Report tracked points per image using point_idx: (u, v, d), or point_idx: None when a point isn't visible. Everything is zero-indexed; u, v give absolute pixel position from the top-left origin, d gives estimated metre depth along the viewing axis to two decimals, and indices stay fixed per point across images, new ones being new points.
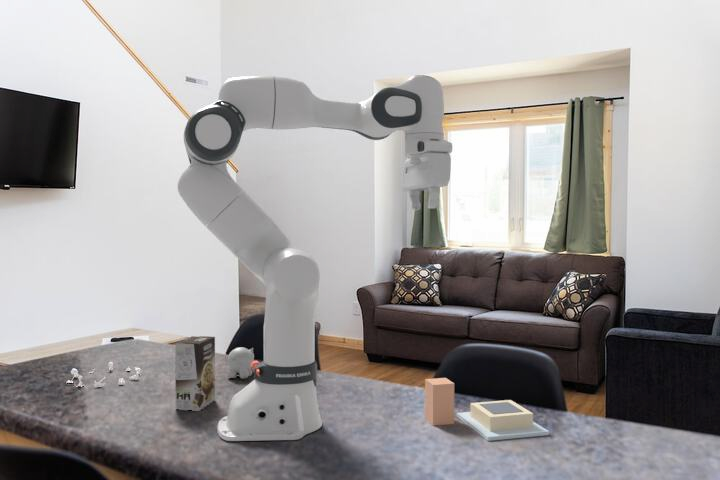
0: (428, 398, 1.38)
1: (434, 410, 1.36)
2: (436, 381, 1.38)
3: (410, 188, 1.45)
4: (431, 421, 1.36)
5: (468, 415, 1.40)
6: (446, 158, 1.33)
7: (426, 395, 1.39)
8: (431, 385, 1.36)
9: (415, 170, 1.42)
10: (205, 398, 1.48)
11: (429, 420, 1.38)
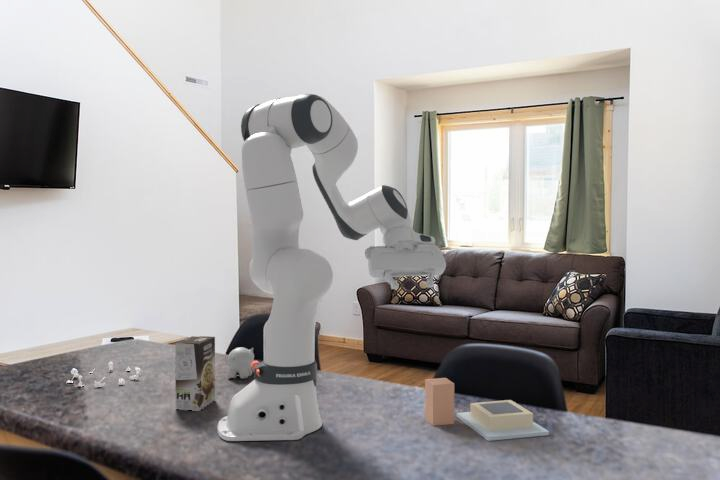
0: (428, 398, 1.38)
1: (434, 410, 1.36)
2: (436, 381, 1.38)
3: (395, 267, 1.57)
4: (431, 421, 1.36)
5: (468, 415, 1.40)
6: None
7: (426, 395, 1.39)
8: (431, 385, 1.36)
9: (401, 256, 1.60)
10: (205, 398, 1.48)
11: (429, 420, 1.38)
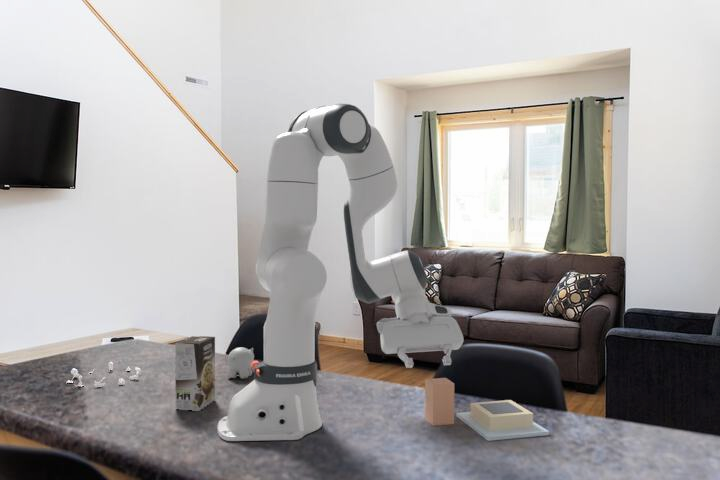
0: (428, 398, 1.38)
1: (434, 410, 1.36)
2: (436, 381, 1.38)
3: (409, 344, 1.46)
4: (431, 421, 1.36)
5: (468, 415, 1.40)
6: None
7: (426, 395, 1.39)
8: (431, 385, 1.36)
9: (415, 330, 1.49)
10: (205, 398, 1.48)
11: (429, 420, 1.38)
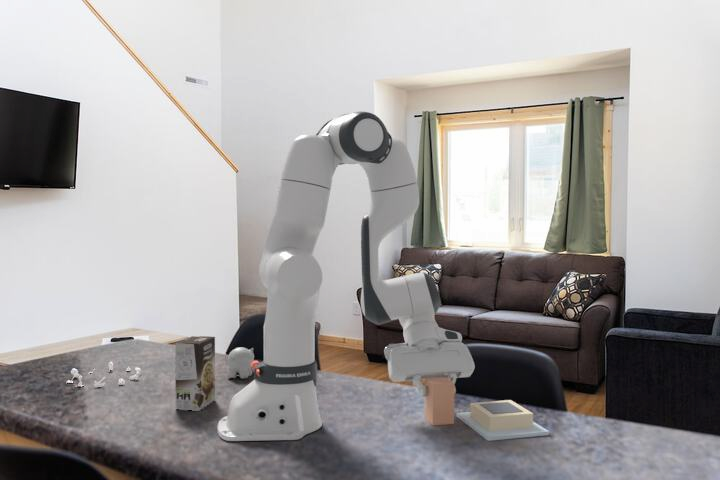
0: (428, 398, 1.38)
1: (434, 410, 1.36)
2: (436, 381, 1.38)
3: (418, 372, 1.40)
4: (431, 421, 1.36)
5: (468, 415, 1.40)
6: None
7: None
8: (431, 385, 1.36)
9: (425, 356, 1.43)
10: (205, 398, 1.48)
11: (429, 420, 1.38)
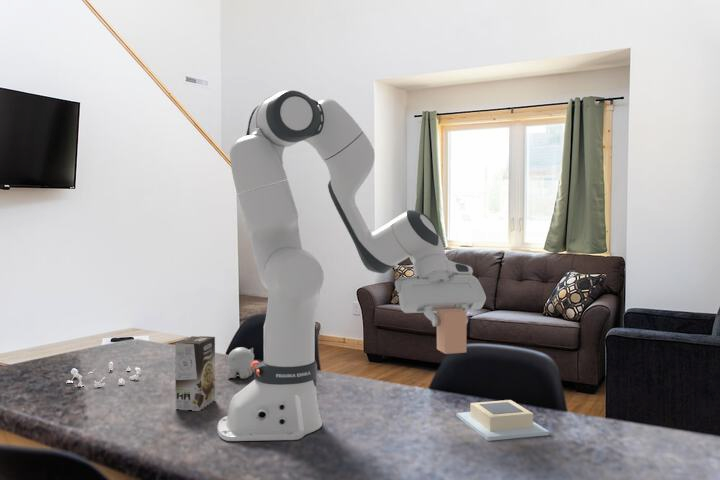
0: (440, 328, 1.38)
1: (446, 338, 1.35)
2: (448, 310, 1.37)
3: (430, 302, 1.39)
4: (444, 349, 1.35)
5: (468, 415, 1.40)
6: None
7: None
8: (443, 313, 1.35)
9: (436, 288, 1.42)
10: (205, 398, 1.48)
11: (441, 349, 1.37)
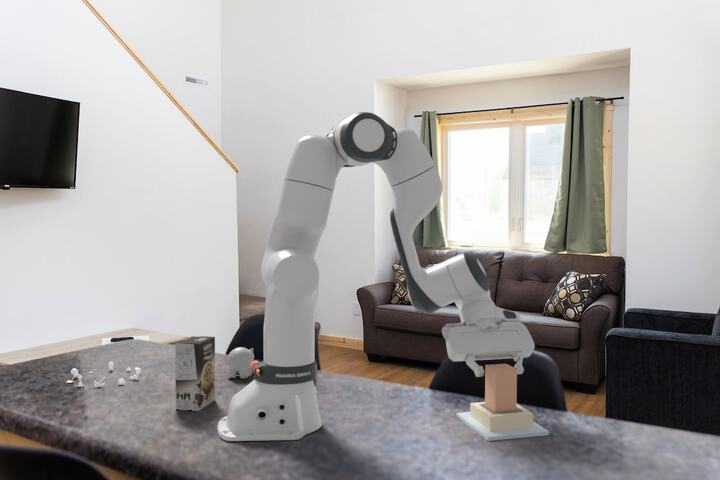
0: (489, 384, 1.35)
1: (497, 396, 1.33)
2: (497, 367, 1.35)
3: (479, 351, 1.37)
4: (493, 407, 1.33)
5: (468, 415, 1.40)
6: None
7: (487, 381, 1.36)
8: (493, 371, 1.33)
9: (484, 336, 1.40)
10: (205, 398, 1.48)
11: (490, 406, 1.35)
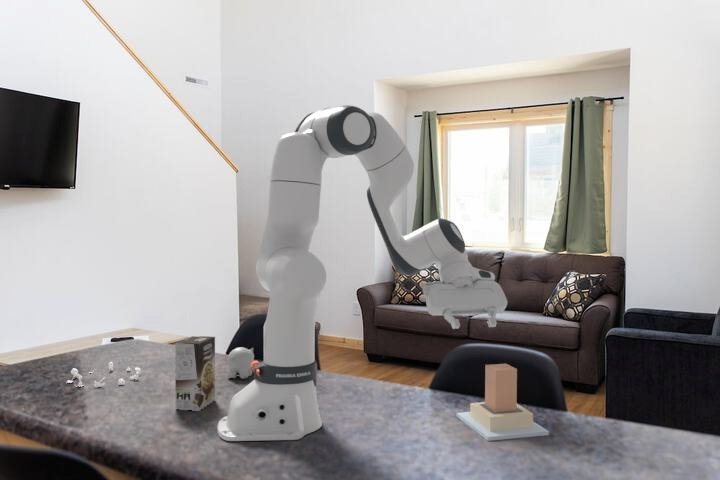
0: (489, 384, 1.35)
1: (497, 396, 1.33)
2: (497, 367, 1.35)
3: (455, 306, 1.49)
4: (493, 407, 1.33)
5: (468, 415, 1.40)
6: None
7: (487, 381, 1.36)
8: (493, 371, 1.33)
9: (460, 293, 1.52)
10: (205, 398, 1.48)
11: (490, 406, 1.35)
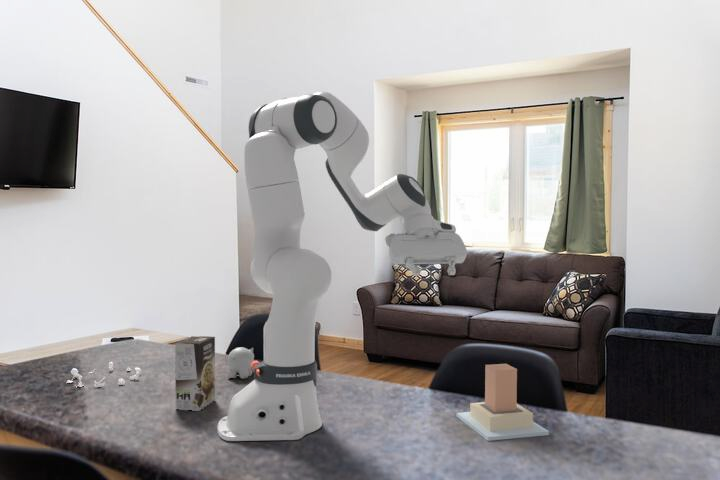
0: (489, 384, 1.35)
1: (497, 396, 1.33)
2: (497, 367, 1.35)
3: (416, 254, 1.56)
4: (493, 407, 1.33)
5: (468, 415, 1.40)
6: None
7: (487, 381, 1.36)
8: (493, 371, 1.33)
9: (422, 243, 1.59)
10: (205, 398, 1.48)
11: (490, 406, 1.35)
